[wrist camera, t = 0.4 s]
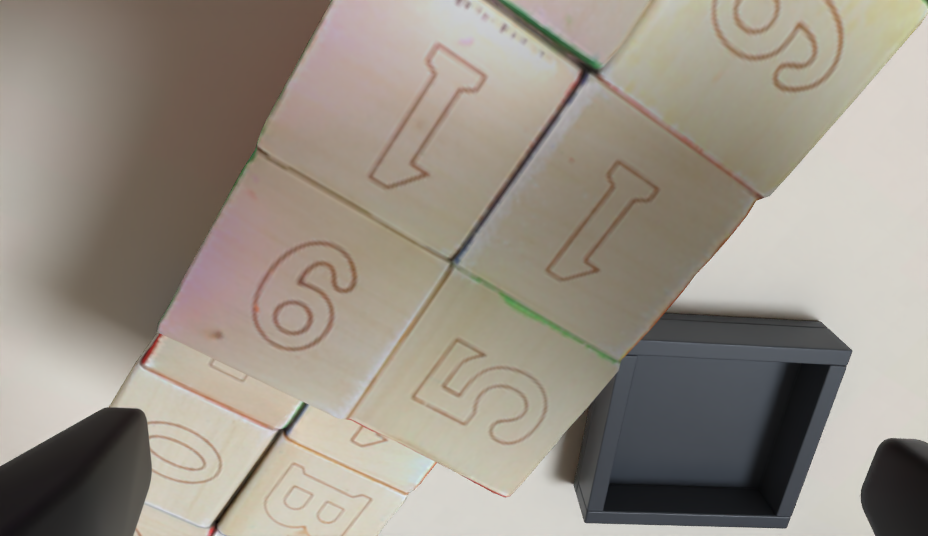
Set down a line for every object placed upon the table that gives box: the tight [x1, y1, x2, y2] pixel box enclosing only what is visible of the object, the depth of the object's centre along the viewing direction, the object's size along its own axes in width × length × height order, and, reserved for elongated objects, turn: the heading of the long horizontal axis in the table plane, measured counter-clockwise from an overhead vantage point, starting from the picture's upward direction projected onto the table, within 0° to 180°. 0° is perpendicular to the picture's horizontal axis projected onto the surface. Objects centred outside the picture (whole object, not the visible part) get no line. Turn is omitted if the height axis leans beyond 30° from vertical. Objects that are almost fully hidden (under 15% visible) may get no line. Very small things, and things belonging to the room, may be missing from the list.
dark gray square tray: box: [574, 313, 852, 528], centre depth 25 cm, size 8×8×2 cm
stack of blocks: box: [109, 0, 928, 536], centre depth 15 cm, size 21×6×12 cm, turn 145°
